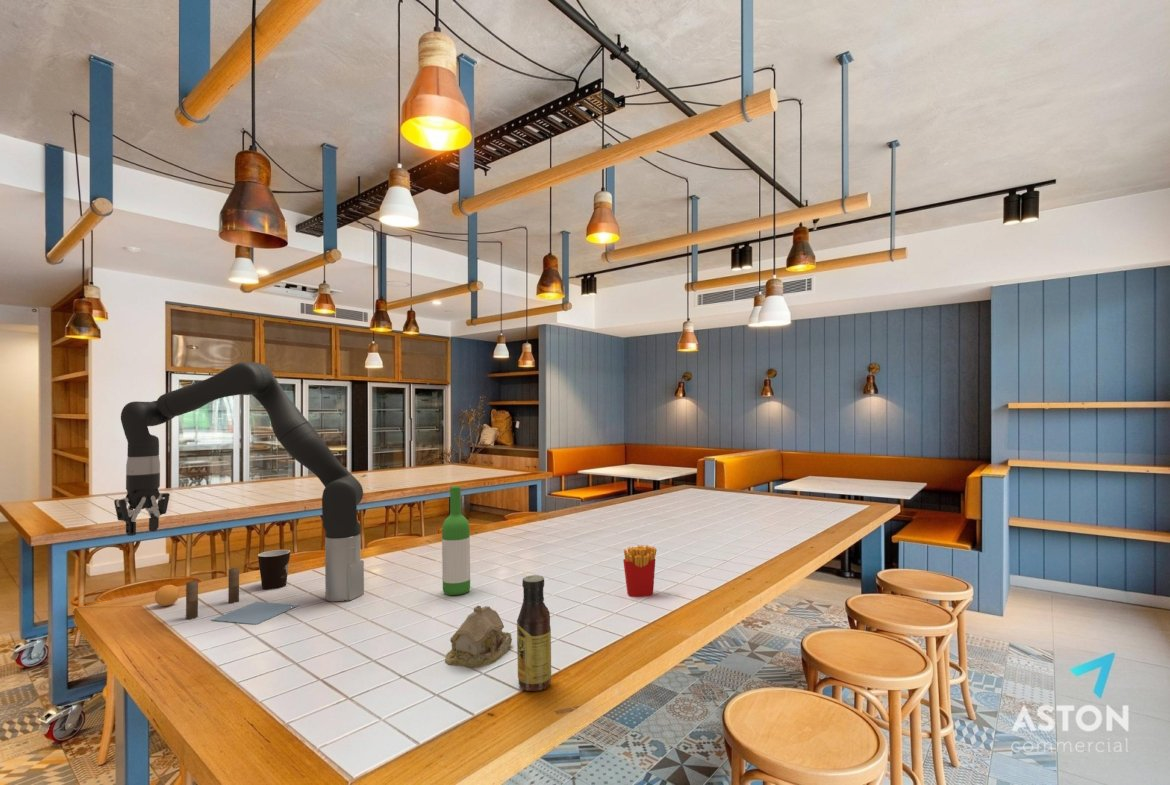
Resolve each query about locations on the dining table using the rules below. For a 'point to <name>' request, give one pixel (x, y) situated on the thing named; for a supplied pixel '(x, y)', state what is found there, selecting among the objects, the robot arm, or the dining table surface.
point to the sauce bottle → (534, 637)
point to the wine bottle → (455, 548)
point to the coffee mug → (274, 568)
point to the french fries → (639, 570)
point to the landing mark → (255, 613)
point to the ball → (167, 595)
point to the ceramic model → (479, 639)
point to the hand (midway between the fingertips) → (142, 532)
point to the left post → (191, 599)
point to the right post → (233, 585)
